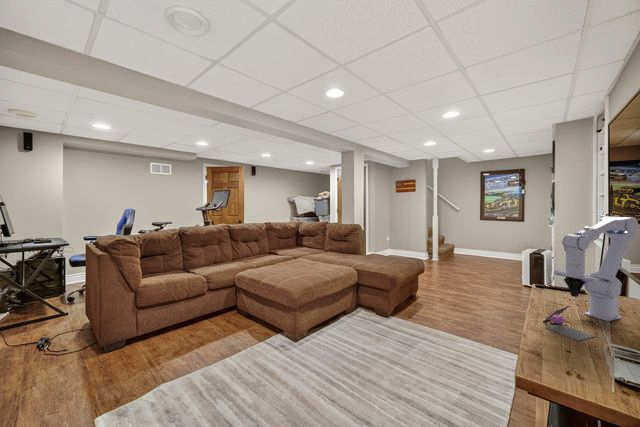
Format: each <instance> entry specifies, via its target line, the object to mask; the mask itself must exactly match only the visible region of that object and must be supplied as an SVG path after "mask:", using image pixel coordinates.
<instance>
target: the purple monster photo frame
mask: <svg viewBox="0 0 640 427" xmlns="http://www.w3.org/2000/svg"><path fill="white" fill-rule="evenodd" d="M568 308H569V307H568V306H566V307H563V308H561V309H557V310H556V311H554V312H553V313H552V314H550V315H549V316H548V317H546V318H543V319H542V323H545V322H549V321H550V322H553V323H555V324H556V325H558V324H564V323H565V322H566V323H570V320H567V319H565V317H564V316H559V315H560V314H562V313H563V312H565V310H567V309H568Z"/></svg>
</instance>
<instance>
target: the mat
mask: <svg viewBox="0 0 640 427" xmlns="http://www.w3.org/2000/svg"><path fill="white" fill-rule="evenodd" d="M544 329H546V330H549V331H552V332H554V333H557V334H558V335H561V336H563V337H567V338H569V339H571V340H574V341H576V342H581V341H586V340H590V339H592V338H596V336H595V335H593V334H589V333H587V332H585V331H582V330H578V329H576V328H574V327H571V326H568V325H565V324H564V323H562V324H553V325H550V326H545V327H544Z"/></svg>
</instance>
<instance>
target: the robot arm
mask: <svg viewBox="0 0 640 427" xmlns="http://www.w3.org/2000/svg"><path fill="white" fill-rule="evenodd" d="M639 226H640V225H639V222H638V220H637V218H636V217H633V216H629V217H628V216H627V217H626V216H625V217H624V216H623V217H622V216H608V215H607V216H606V215H605V216H604V217H601V218H600V220H599V222H597V224H595V225H594V226H584V227H583V228H582V229H581V230H578V231H575V233H573V234H569V233H568V234H566V235H565V236H564V237H563V238H562V241H561V244H562V246H563V250H564V252H565V270H560V269H559V270H558V269H556V270H555V269H554V270H553V276H554V275H555V276H559V277H564V279H563V281H564V282H565V284H566V285H567V288H568V291H569V293H570V296H571V297H575V298H578V297H579V293H580V291H581V289H582V288H583V287H584V290H585V291H586V292H587V294H588V295H589V311H586V312H584V315H587V316H590V317H593V318H596V319H600V320H603V321H605V322H609V321H613V320H619V319H622V318H623V317H622V316H620V302H619V299H618V298H619V296H620V295H621V293H622V285H623V284H622V282H621V280H620V279H618V278H617V277H616V276H617V274H618V271H619V270H620V267H621V264H622V262H623V260H624V257H625V254H626V252H627V249H628V247H629V245H630V244H631V243H630V242H631V240H633V239H635V237H636V235H637V233H638V231H639V228H640V227H639ZM602 234H605V235H606V237H608V238H610V239H611V242H610V243H609V246H608V249H607V250H606V253H605V254H604V258H603V260H602V262H601V265H600V267H599V268H598V271H597V272H596V271H595V272H593V273H590V274H589V275H586V274H585V267H586V266H585V263H586V257H585V256H586V250H588V248H589V246H590V245H591V244H592V243H593V242H594V241H597V240H598V239H599V238H600V236H601V235H602Z"/></svg>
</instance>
